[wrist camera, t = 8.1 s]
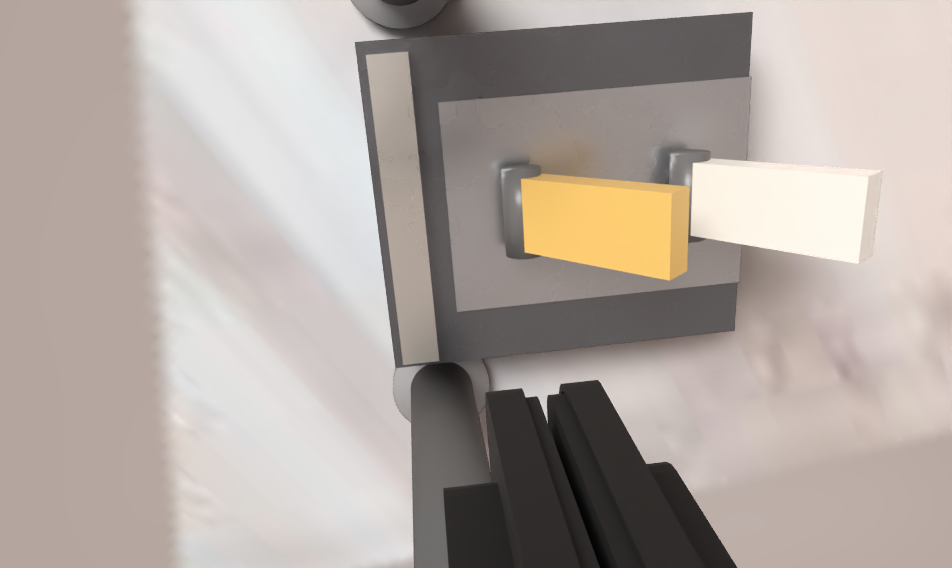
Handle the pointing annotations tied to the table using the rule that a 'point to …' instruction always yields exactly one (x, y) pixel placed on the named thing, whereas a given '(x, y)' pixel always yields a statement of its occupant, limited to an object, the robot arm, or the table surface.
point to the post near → (400, 11)
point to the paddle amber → (596, 221)
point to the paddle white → (780, 205)
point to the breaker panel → (558, 153)
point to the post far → (441, 444)
